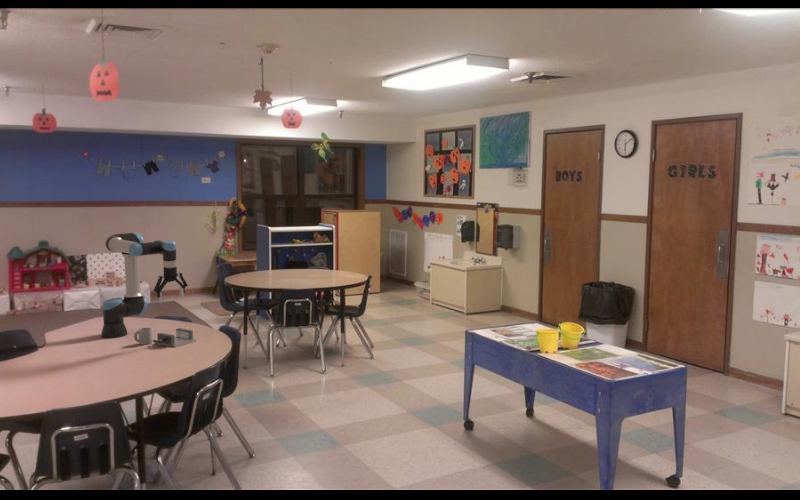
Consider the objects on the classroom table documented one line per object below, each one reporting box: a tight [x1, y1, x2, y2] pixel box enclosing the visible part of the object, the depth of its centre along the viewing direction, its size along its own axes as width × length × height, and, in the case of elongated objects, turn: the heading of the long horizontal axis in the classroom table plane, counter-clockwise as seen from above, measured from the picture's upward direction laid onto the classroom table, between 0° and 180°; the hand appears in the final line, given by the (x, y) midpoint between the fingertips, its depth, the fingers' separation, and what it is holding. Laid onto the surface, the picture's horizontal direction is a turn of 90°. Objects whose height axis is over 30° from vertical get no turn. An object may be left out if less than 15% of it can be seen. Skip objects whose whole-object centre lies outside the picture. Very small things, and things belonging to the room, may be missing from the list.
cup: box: [133, 327, 153, 346], centre depth 383 cm, size 7×10×9 cm
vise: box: [152, 328, 198, 348], centre depth 383 cm, size 18×22×6 cm
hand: (171, 300), depth 385 cm, fingers open, 13 cm apart
